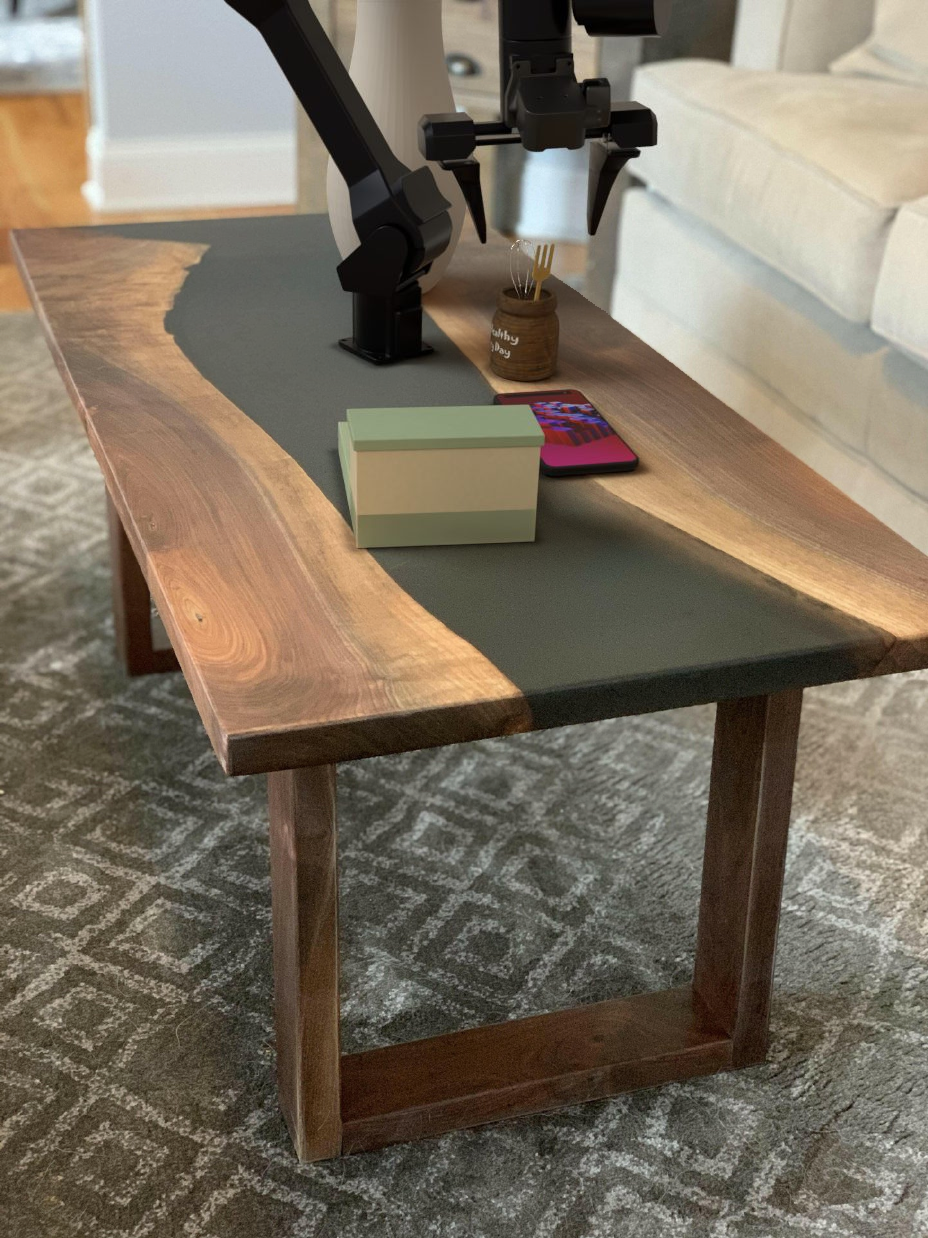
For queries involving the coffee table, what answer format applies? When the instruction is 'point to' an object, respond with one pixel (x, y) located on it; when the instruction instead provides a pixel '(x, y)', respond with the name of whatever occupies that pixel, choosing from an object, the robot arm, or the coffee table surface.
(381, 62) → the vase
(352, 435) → the beige rectangular box
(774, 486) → the coffee table surface
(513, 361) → the utensil holder
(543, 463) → the smartphone
